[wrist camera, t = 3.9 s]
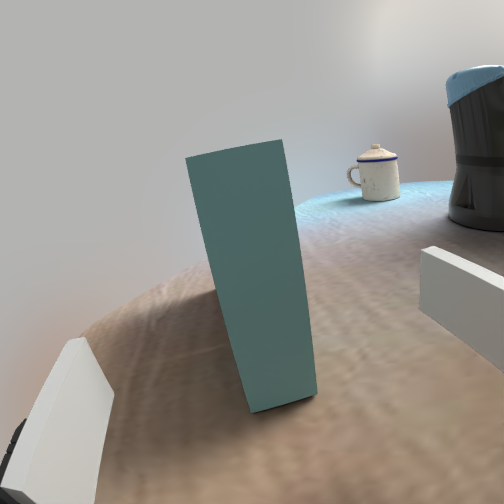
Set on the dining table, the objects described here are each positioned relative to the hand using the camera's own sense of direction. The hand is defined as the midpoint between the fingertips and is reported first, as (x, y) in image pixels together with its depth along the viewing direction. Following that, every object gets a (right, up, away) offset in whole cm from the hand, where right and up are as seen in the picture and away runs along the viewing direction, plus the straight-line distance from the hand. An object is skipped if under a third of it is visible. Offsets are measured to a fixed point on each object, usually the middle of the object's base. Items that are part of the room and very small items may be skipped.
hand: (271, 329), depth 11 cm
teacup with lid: (+26, +14, +53) cm, 61 cm away
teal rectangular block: (+1, -5, +9) cm, 11 cm away
